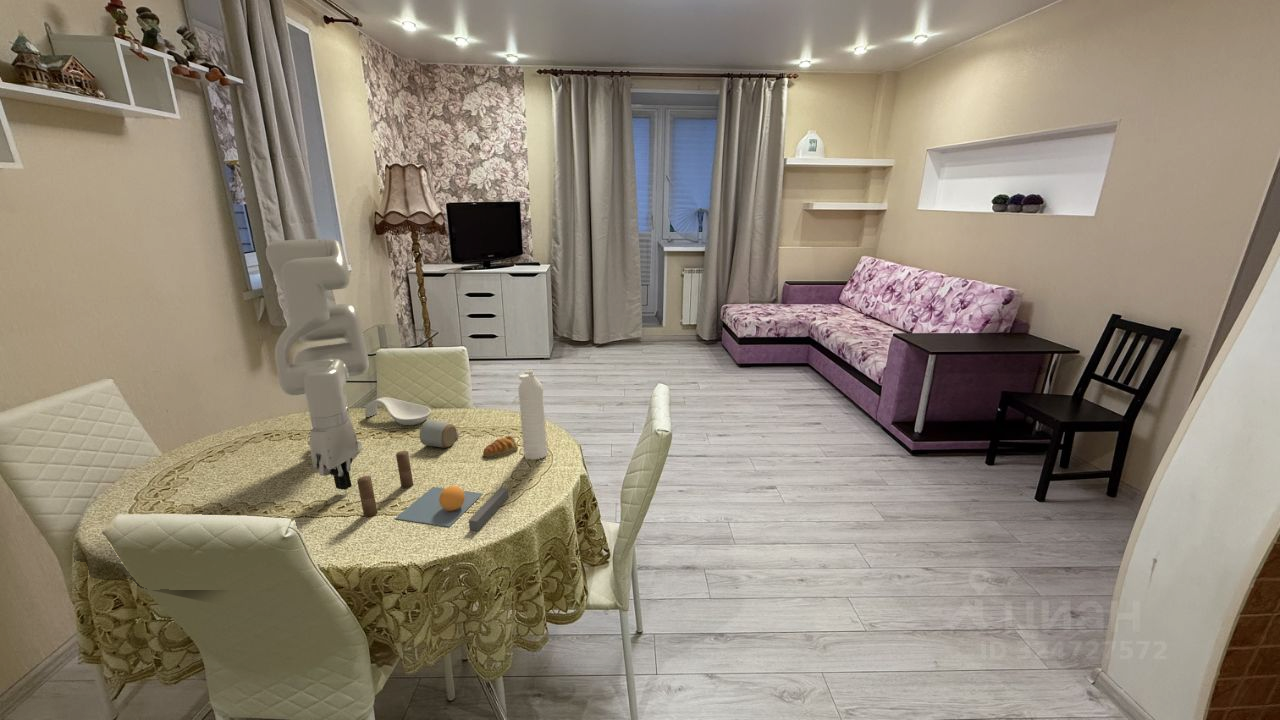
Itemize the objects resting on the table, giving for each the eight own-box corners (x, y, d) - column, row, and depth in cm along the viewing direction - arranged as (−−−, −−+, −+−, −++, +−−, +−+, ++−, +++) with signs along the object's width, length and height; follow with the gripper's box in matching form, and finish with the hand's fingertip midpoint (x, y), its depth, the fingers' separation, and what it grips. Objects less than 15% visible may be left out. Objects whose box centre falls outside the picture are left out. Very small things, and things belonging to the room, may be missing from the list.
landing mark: (395, 519, 119) (394, 518, 119) (432, 487, 132) (432, 486, 132) (449, 527, 116) (449, 526, 116) (482, 494, 129) (482, 493, 129)
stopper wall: (469, 530, 114) (468, 520, 114) (501, 496, 127) (500, 487, 127) (478, 531, 114) (476, 521, 113) (508, 497, 127) (507, 488, 126)
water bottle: (528, 449, 152) (521, 366, 144) (550, 450, 151) (544, 367, 144) (518, 463, 143) (510, 376, 136) (541, 464, 143) (534, 377, 135)
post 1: (361, 516, 120) (354, 481, 118) (369, 509, 123) (363, 475, 120) (371, 518, 120) (364, 482, 117) (380, 511, 122) (373, 476, 120)
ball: (446, 519, 120) (429, 502, 120) (460, 506, 126) (444, 489, 125) (460, 507, 118) (443, 489, 118) (473, 494, 123) (457, 477, 123)
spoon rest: (439, 417, 176) (437, 397, 174) (415, 431, 166) (412, 410, 163) (382, 410, 183) (379, 391, 181) (356, 423, 173) (352, 403, 170)
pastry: (490, 462, 145) (489, 449, 144) (478, 454, 150) (477, 442, 149) (520, 450, 152) (518, 438, 150) (507, 443, 156) (506, 432, 155)
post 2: (398, 487, 132) (393, 455, 130) (406, 482, 135) (401, 450, 132) (408, 489, 132) (403, 456, 129) (415, 483, 134) (410, 451, 132)
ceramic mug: (444, 452, 151) (441, 427, 149) (420, 449, 153) (417, 424, 151) (466, 437, 161) (463, 414, 158) (443, 434, 163) (440, 411, 161)
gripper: (341, 406, 132) (353, 471, 138) (290, 430, 119) (306, 502, 124) (366, 408, 131) (378, 474, 136) (317, 433, 117) (332, 505, 122)
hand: (343, 487), depth 130 cm, fingers closed
